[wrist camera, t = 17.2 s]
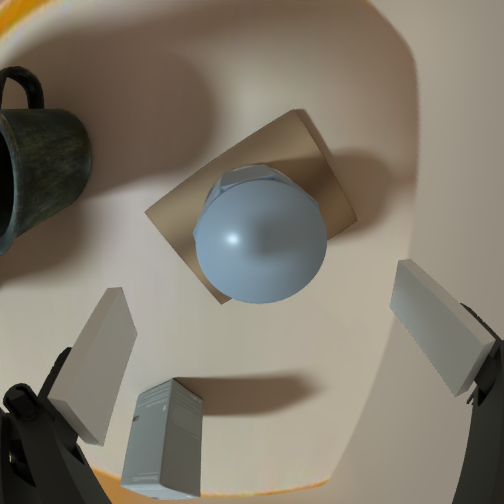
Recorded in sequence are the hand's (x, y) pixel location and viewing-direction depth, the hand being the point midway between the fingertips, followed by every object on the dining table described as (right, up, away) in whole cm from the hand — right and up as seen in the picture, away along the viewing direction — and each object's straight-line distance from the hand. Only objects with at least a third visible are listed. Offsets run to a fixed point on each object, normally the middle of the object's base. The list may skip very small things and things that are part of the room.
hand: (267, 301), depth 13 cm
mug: (-20, +13, +9) cm, 26 cm away
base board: (-1, +6, +14) cm, 15 cm away
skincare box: (-13, -19, +24) cm, 33 cm away
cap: (0, +5, +12) cm, 13 cm away
